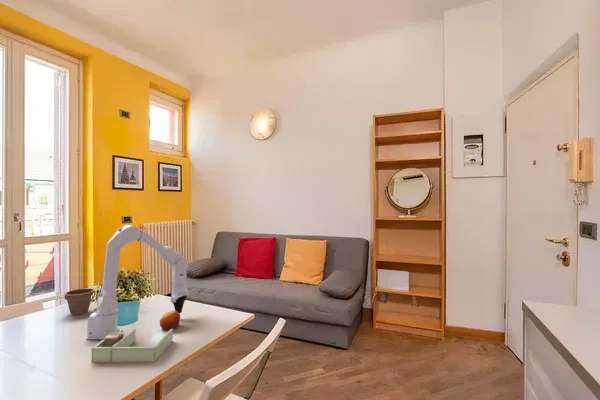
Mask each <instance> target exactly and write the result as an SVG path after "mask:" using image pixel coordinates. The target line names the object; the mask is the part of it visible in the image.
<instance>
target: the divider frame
mask: <svg viewBox="0 0 600 400" xmlns="http://www.w3.org/2000/svg"><path fill="white" fill-rule="evenodd" d="M119 331H120V328H117V330H115V331H114V332H119ZM136 331H137V329H136V328H133V329H132V330H131V331H129V332H128V333H126V334H125V335H123V338H122V339H121V340H119V341H118V342H117V343H116V344H114V345H113V346H112V347H104V346H105V339H101V340H100V341H99V342H98V343H96V344H95V345H93V346H92V347H91V363H93V362H94V363H95V362H96V363H99V362H100V363H101V362H103V363H104V362H105V363H107V362H108V363H109V362H110V363H111V362H112V363H115V362H116V363H117V362H118V363H119V362H120V363H121V362H124V363H125V362H126V363H127V362H156V361H157V360H158V359H159V358H160V357H161V355H162V354H163V353H164V352H165V351H166V349H168V347H169V346H170V344H171V343H172V342H173V341H174V340H173V339H174V338H173V335H174V334H173V333H174V329H170V330H167V332H166V334H164V335H163V337H162V338H161V339H160V340H159V341H158V342H157V343H156V344H155V345H154V346H131V345H132V344H134V342H136Z"/></svg>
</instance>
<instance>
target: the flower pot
mask: <svg viewBox="0 0 600 400" xmlns="http://www.w3.org/2000/svg"><path fill="white" fill-rule="evenodd" d="M93 293H96V291H95V289H94V288H89V287H88V288H78V289H73V290H72V289H71V290H69V291H67V292H65V293H64V300H66V302H67V305H68V309H69V314H70V315H73V316H77V315H78V316H79V315H83V314H86V313H88V311H89V309H90V305H91V302H92V299H91V295H92V294H93Z"/></svg>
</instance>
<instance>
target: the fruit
mask: <svg viewBox="0 0 600 400" xmlns="http://www.w3.org/2000/svg"><path fill="white" fill-rule="evenodd" d="M180 321H181V313H178V312H177V311H175V310H170V311H168V312H166V313H164V314H162V315H161V318H160V321H159V327H160V328H161V329H163V330H164V331H169V330H170V329H173V330H174V329H175V328H176V327H180Z"/></svg>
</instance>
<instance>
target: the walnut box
mask: <svg viewBox="0 0 600 400" xmlns="http://www.w3.org/2000/svg"><path fill="white" fill-rule="evenodd" d="M123 337H124V332H123V331H121V332H111V333H110V334H108V335H107V336H106V337H105V338H104V339H105V346H104V347H112V346H113V345H114V344H116V343H117V342H118V341H119V340H121V339H122V338H123Z"/></svg>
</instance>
